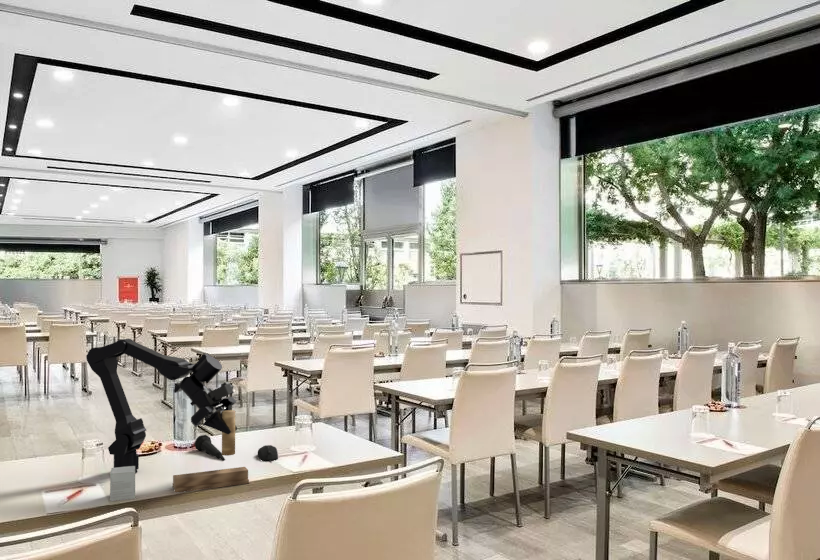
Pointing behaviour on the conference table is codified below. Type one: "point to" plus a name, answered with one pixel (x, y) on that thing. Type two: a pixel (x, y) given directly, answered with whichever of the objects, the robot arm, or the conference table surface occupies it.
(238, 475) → the ridge
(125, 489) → the product box
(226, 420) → the dowel
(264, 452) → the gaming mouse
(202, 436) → the microphone
